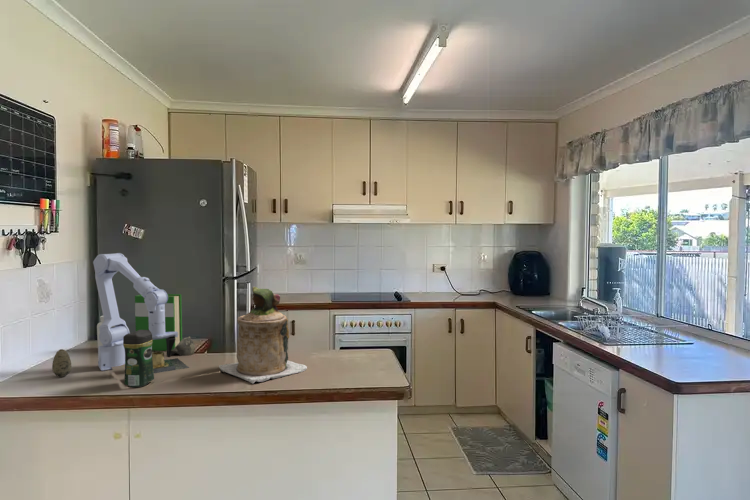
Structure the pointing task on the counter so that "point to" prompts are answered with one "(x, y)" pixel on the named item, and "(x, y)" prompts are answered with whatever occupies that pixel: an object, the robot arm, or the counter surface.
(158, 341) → the hardback book
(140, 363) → the coffee jar
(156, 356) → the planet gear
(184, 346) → the fossil
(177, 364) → the carrier
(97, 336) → the pill bottle
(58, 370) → the decorative egg
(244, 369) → the cookie jar
